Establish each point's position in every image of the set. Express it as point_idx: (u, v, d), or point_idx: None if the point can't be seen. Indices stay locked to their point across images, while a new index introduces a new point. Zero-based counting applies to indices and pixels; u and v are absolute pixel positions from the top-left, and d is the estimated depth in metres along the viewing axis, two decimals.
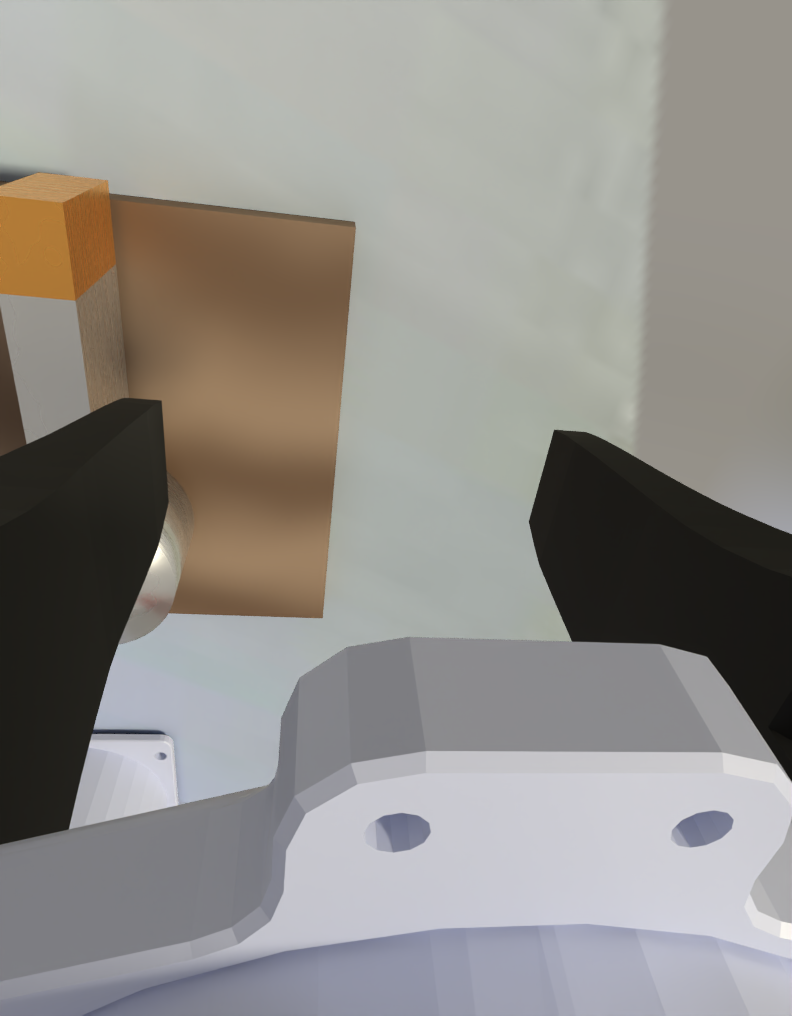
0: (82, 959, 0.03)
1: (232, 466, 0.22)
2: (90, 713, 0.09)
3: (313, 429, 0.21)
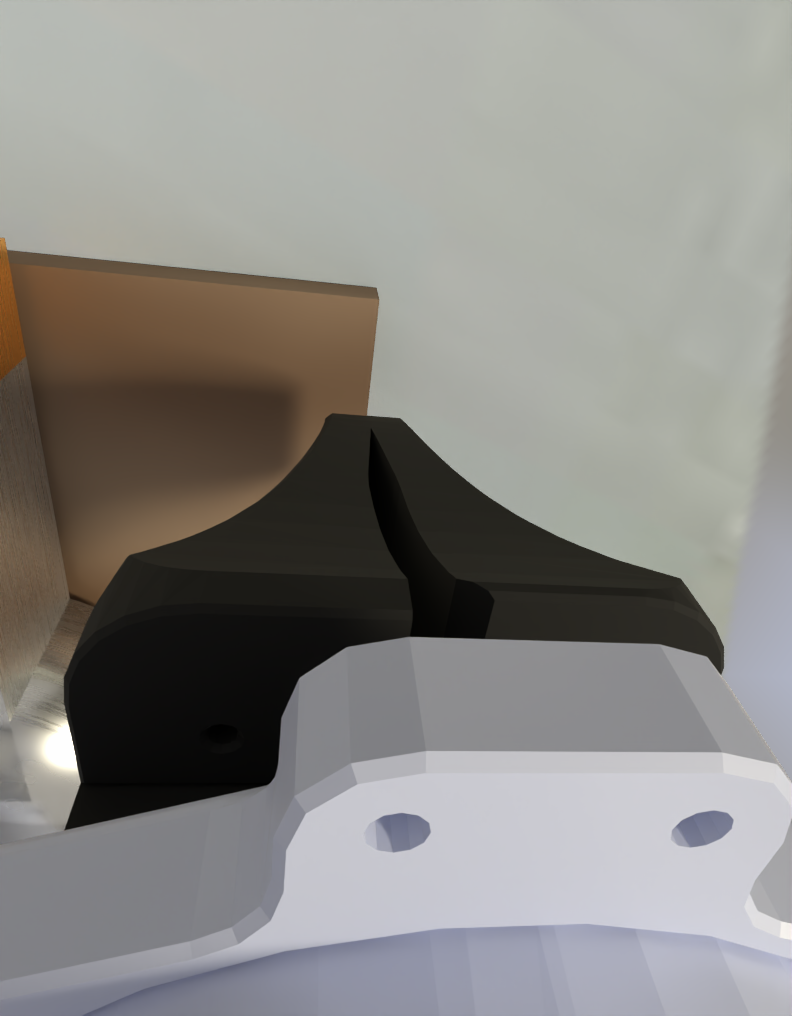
0: (83, 959, 0.03)
1: None
2: None
3: None
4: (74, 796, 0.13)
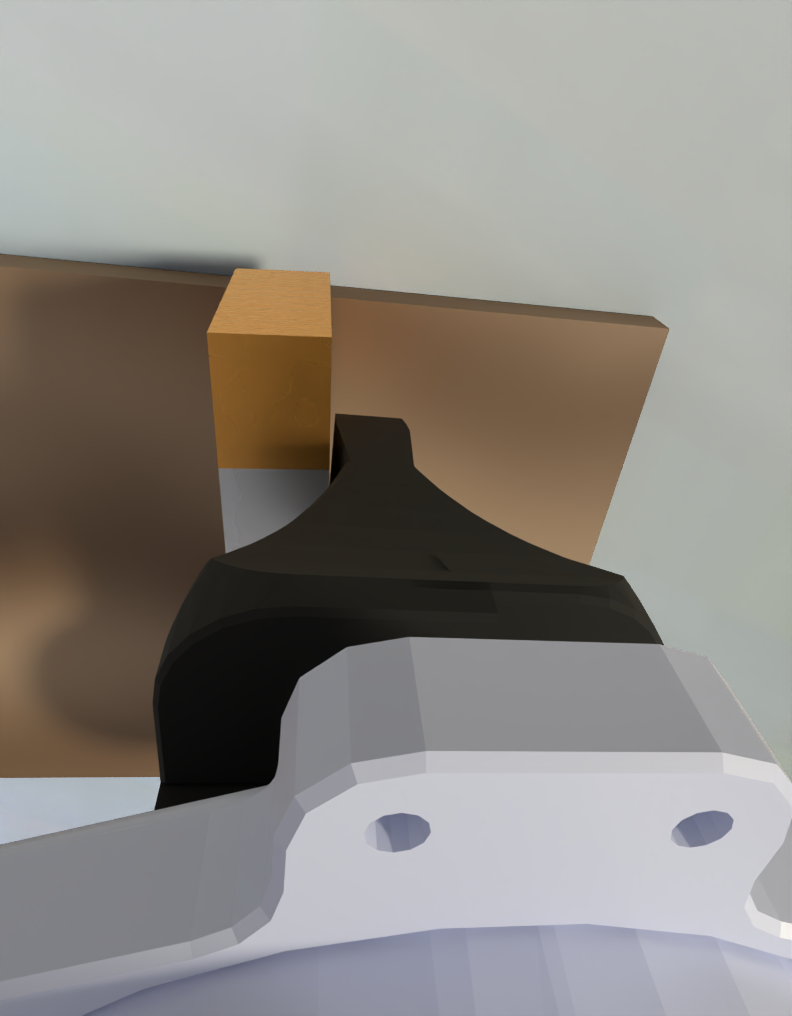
0: (82, 959, 0.03)
1: None
2: None
3: None
4: None
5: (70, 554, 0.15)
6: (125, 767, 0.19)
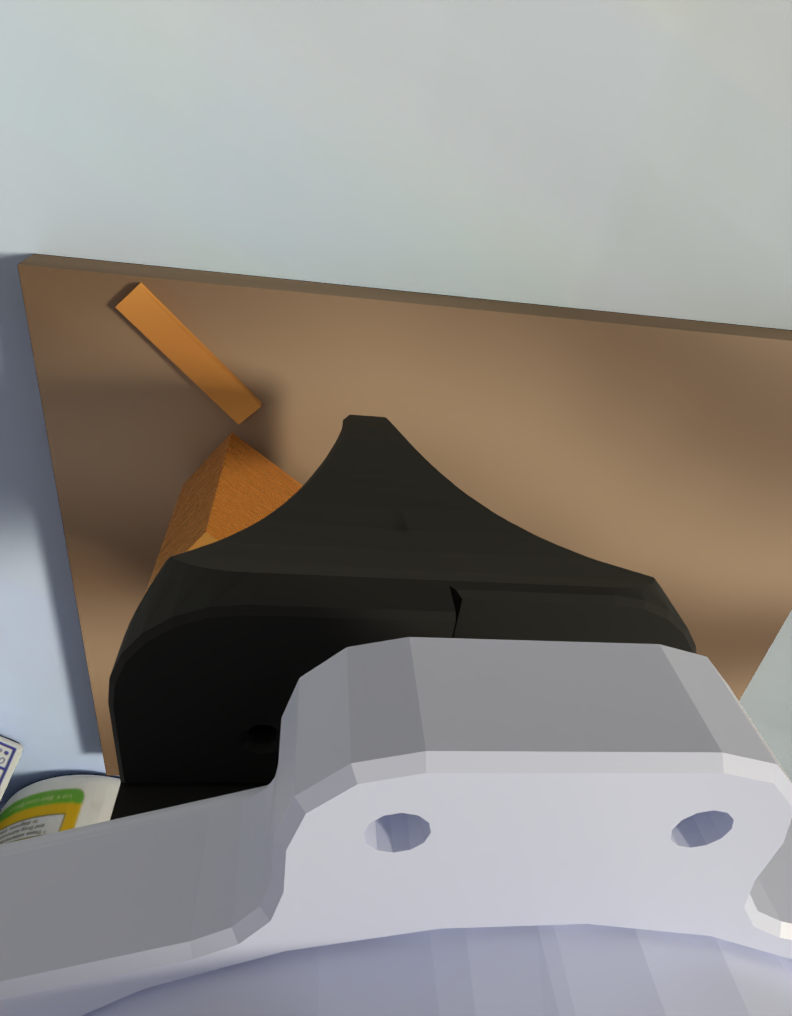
0: (82, 959, 0.03)
1: None
2: None
3: (779, 581, 0.17)
4: None
5: None
6: None
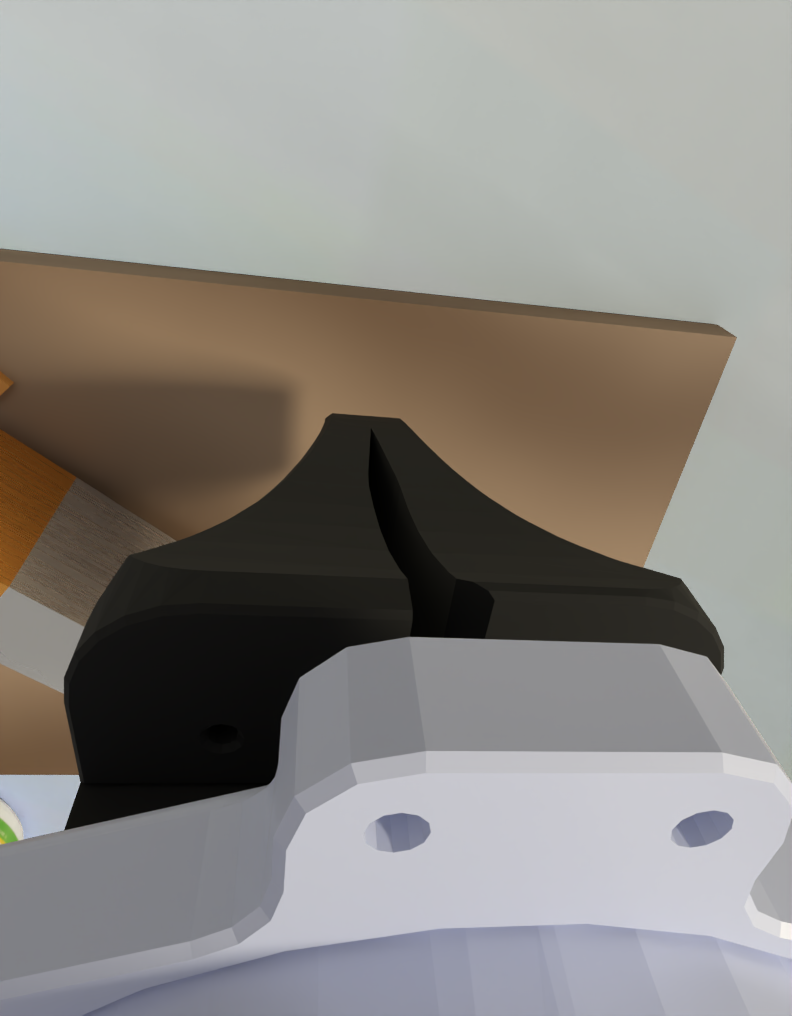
0: (82, 959, 0.03)
1: None
2: None
3: None
4: None
5: None
6: None
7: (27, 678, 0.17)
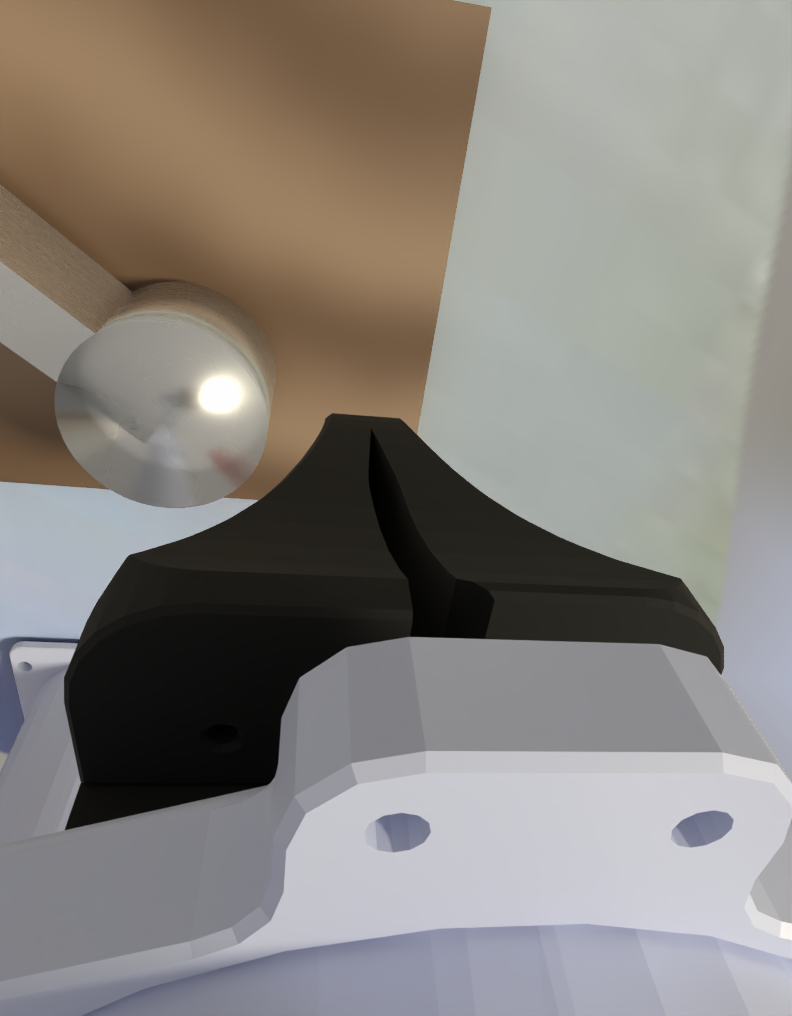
0: (82, 959, 0.03)
1: (322, 316, 0.19)
2: None
3: (417, 272, 0.19)
4: (200, 373, 0.16)
5: None
6: (45, 473, 0.21)
7: None
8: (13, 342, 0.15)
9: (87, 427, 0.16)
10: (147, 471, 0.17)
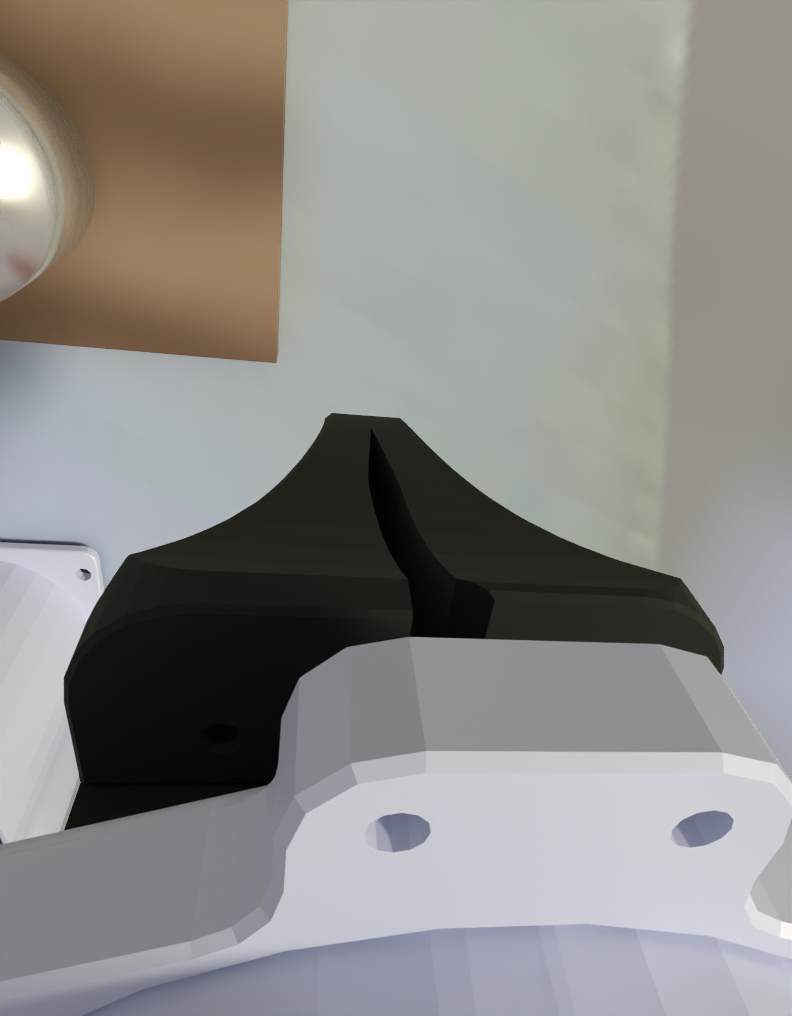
0: (83, 959, 0.03)
1: (143, 96, 0.16)
2: None
3: (250, 34, 0.15)
4: None
5: None
6: None
7: None
8: None
9: None
10: None
